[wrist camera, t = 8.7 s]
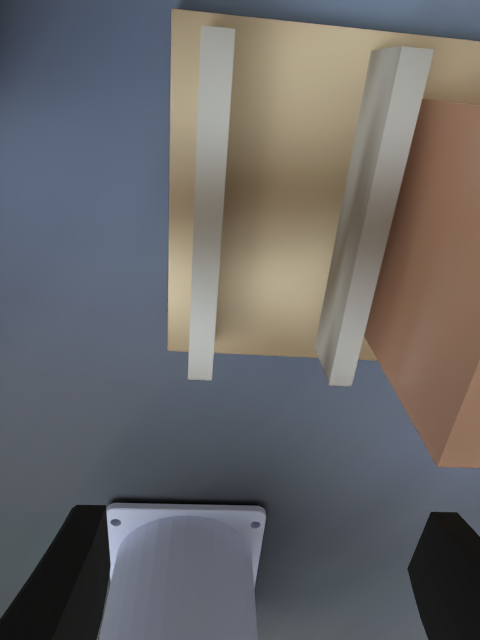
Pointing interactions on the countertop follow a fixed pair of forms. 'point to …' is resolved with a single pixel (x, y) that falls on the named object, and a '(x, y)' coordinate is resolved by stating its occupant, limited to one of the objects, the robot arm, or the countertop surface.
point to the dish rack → (290, 179)
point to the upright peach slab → (435, 285)
